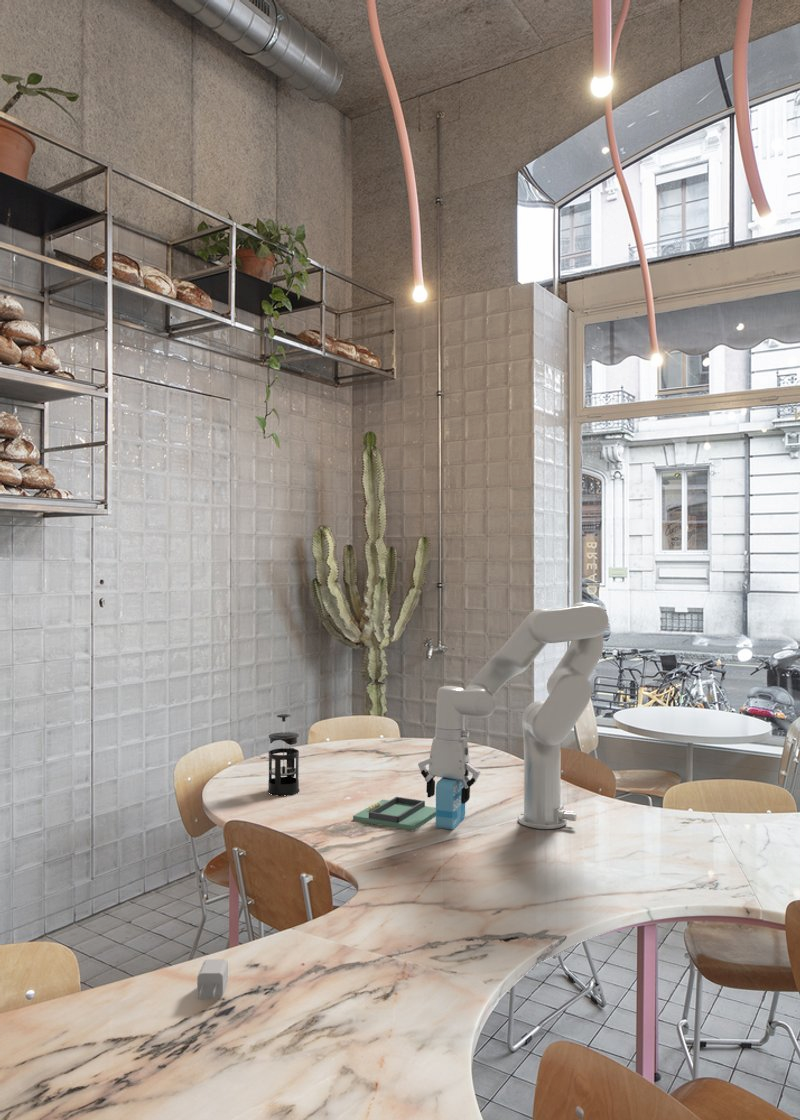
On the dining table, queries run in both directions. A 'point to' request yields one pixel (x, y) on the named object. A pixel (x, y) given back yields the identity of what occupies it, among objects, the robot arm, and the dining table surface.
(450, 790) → the data package
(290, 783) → the french press
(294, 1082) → the dining table surface
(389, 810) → the circuit board
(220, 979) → the usb wall charger
